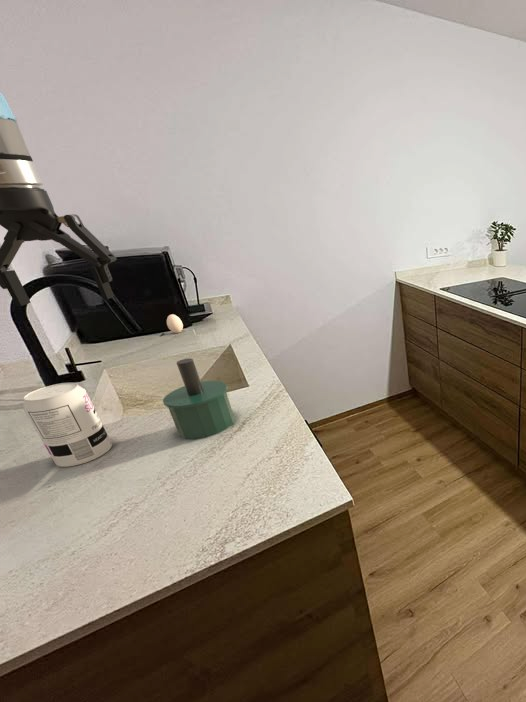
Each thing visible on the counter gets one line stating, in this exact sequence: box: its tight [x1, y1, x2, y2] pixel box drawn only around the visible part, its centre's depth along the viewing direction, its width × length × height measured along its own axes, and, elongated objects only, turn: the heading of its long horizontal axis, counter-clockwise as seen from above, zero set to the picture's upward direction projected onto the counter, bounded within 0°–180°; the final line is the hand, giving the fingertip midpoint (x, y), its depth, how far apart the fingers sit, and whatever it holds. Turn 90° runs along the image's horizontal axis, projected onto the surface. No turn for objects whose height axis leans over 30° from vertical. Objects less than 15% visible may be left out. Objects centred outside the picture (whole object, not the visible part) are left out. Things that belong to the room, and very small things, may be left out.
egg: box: [166, 313, 184, 334], centre depth 145 cm, size 5×5×7 cm
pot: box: [167, 391, 236, 440], centre depth 83 cm, size 10×10×8 cm
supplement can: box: [22, 382, 113, 468], centre depth 73 cm, size 8×8×15 cm
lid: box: [162, 357, 228, 409], centre depth 80 cm, size 11×11×9 cm
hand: (67, 301), depth 77 cm, fingers open, 13 cm apart
